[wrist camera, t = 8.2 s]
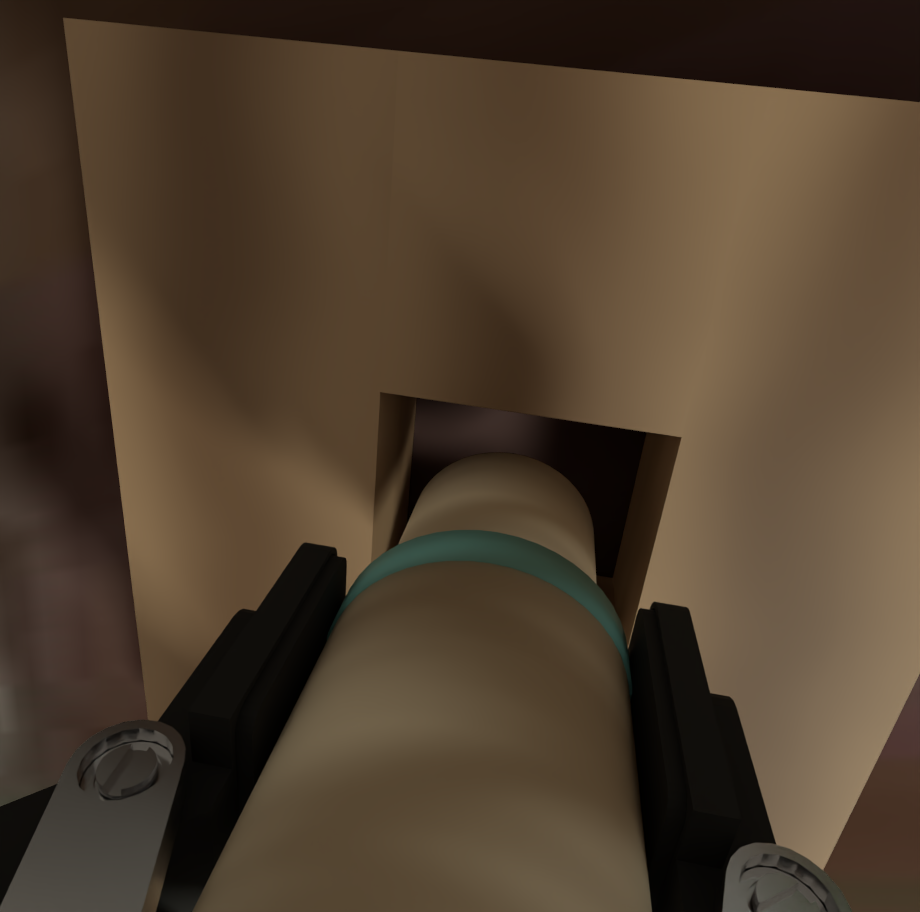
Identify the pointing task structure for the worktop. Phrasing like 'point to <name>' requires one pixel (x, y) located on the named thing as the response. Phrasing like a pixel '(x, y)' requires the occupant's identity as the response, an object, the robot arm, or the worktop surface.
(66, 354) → the worktop surface
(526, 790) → the peg
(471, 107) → the board
